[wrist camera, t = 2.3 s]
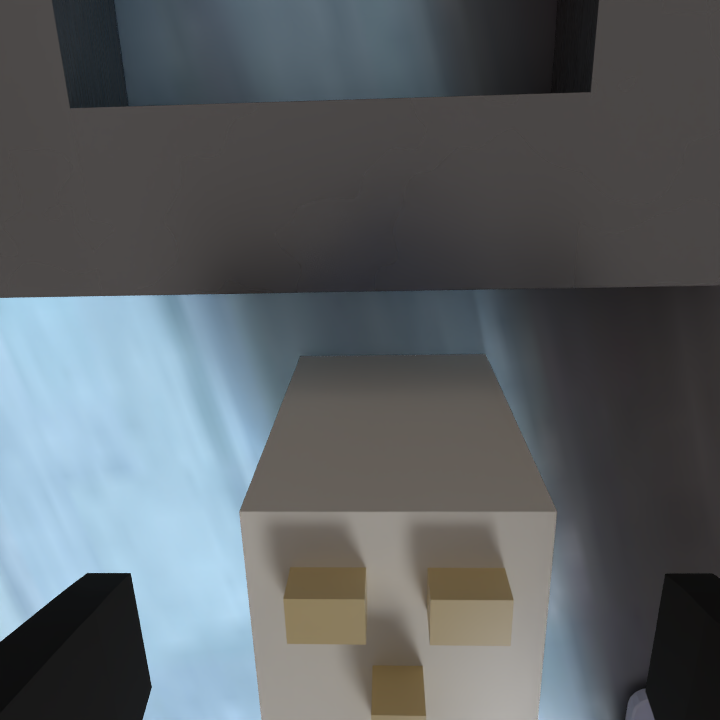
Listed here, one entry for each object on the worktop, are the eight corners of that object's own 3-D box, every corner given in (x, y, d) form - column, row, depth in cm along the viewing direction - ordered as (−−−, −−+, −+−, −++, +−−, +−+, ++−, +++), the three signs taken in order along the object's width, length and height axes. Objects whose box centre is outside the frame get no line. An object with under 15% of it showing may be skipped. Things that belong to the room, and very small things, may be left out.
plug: (485, 353, 13) (575, 551, 7) (478, 513, 15) (548, 801, 8) (300, 355, 14) (224, 551, 7) (310, 513, 15) (253, 794, 9)
